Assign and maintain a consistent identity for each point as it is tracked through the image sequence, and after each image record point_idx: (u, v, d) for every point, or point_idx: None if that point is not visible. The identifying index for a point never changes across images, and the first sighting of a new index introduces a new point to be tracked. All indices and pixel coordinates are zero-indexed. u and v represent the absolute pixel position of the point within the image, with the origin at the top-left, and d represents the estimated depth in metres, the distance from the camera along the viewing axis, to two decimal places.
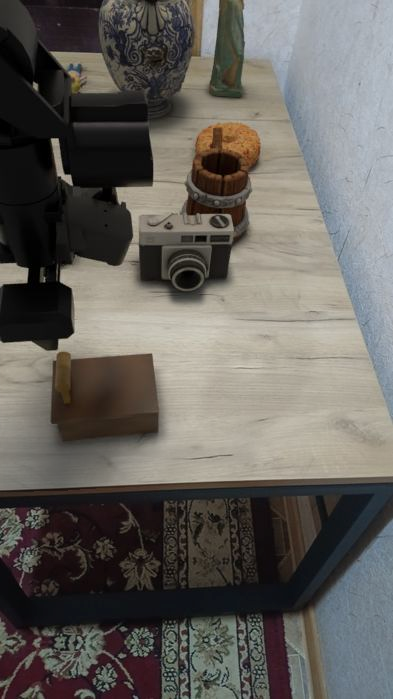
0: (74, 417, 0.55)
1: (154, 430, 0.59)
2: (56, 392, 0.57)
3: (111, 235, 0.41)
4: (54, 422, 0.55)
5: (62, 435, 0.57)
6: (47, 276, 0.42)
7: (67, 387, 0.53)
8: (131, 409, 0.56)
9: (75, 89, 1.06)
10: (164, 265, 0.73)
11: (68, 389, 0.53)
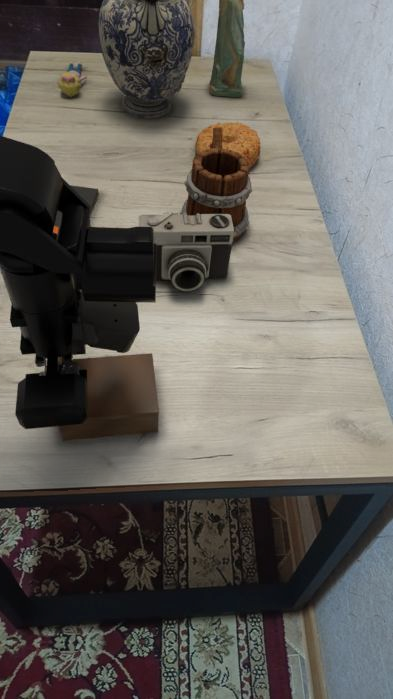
0: None
1: (154, 430, 0.59)
2: None
3: (120, 330, 0.47)
4: None
5: (62, 435, 0.57)
6: (63, 365, 0.48)
7: None
8: (131, 409, 0.56)
9: (75, 89, 1.06)
10: (164, 265, 0.73)
11: None
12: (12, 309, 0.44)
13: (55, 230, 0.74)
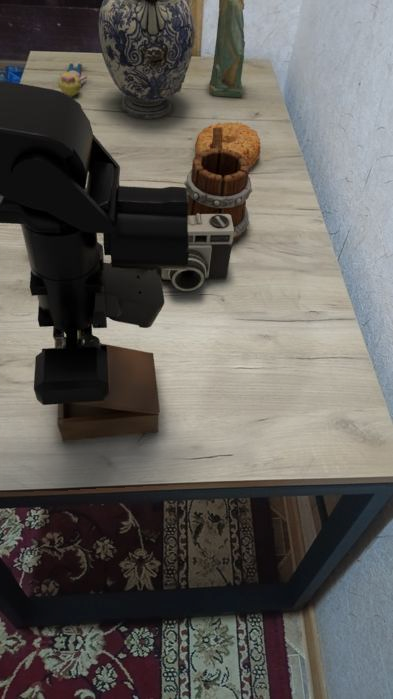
0: None
1: (154, 430, 0.59)
2: None
3: (145, 302, 0.44)
4: None
5: (62, 435, 0.57)
6: (83, 339, 0.45)
7: None
8: (134, 403, 0.55)
9: (75, 89, 1.06)
10: None
11: None
12: (32, 276, 0.41)
13: None
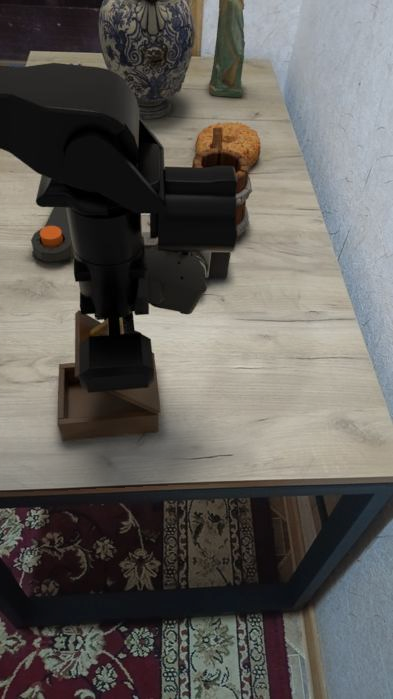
0: None
1: (154, 430, 0.59)
2: None
3: (187, 287, 0.43)
4: None
5: (62, 435, 0.57)
6: (125, 326, 0.44)
7: None
8: (142, 398, 0.54)
9: None
10: None
11: None
12: (75, 262, 0.41)
13: (55, 230, 0.74)
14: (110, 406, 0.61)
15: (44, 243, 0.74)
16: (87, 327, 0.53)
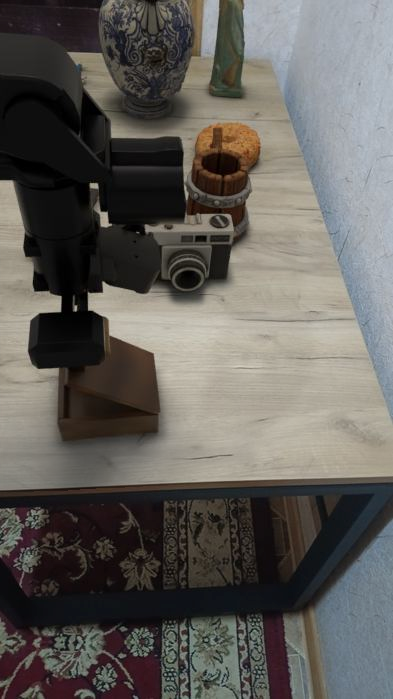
0: (90, 387, 0.50)
1: (154, 430, 0.59)
2: None
3: (141, 266, 0.43)
4: (69, 384, 0.49)
5: (62, 435, 0.57)
6: (79, 304, 0.44)
7: (107, 355, 0.49)
8: (139, 400, 0.55)
9: None
10: (164, 265, 0.73)
11: None
12: (25, 237, 0.40)
13: None
14: (110, 406, 0.61)
15: None
16: None
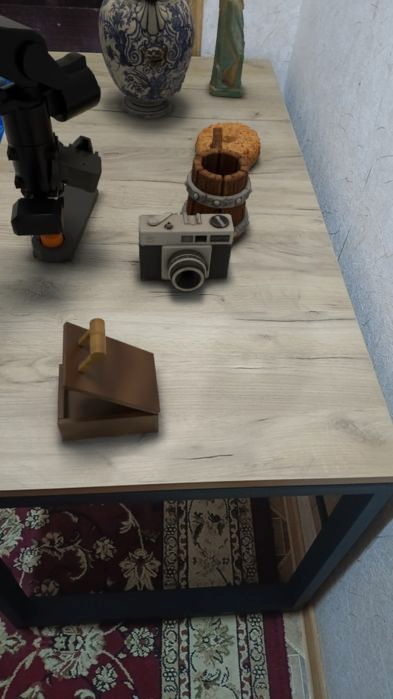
0: (87, 389, 0.51)
1: (154, 430, 0.59)
2: (70, 356, 0.52)
3: (87, 170, 0.64)
4: (67, 387, 0.49)
5: (62, 435, 0.57)
6: (46, 197, 0.65)
7: (103, 357, 0.50)
8: (138, 400, 0.55)
9: None
10: (164, 265, 0.73)
11: (101, 359, 0.50)
12: (8, 147, 0.61)
13: None
14: (110, 406, 0.61)
15: (44, 243, 0.74)
16: (75, 337, 0.54)
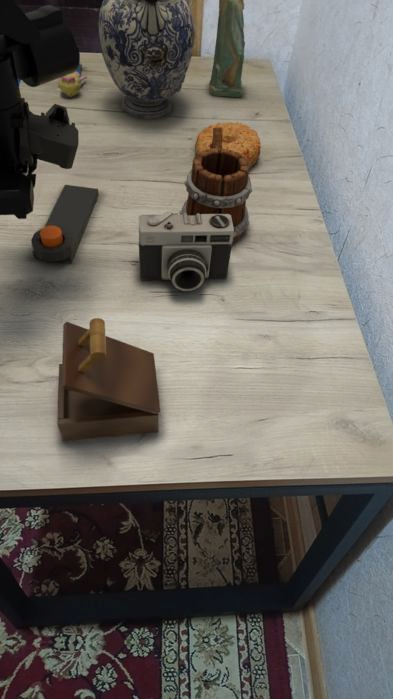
0: (87, 389, 0.51)
1: (154, 430, 0.59)
2: (70, 356, 0.52)
3: (61, 141, 0.56)
4: (67, 387, 0.49)
5: (62, 435, 0.57)
6: (14, 173, 0.57)
7: (103, 357, 0.50)
8: (138, 400, 0.55)
9: (75, 89, 1.06)
10: (164, 265, 0.73)
11: (101, 359, 0.50)
12: None
13: (55, 230, 0.74)
14: (110, 406, 0.61)
15: (44, 243, 0.74)
16: (75, 337, 0.54)
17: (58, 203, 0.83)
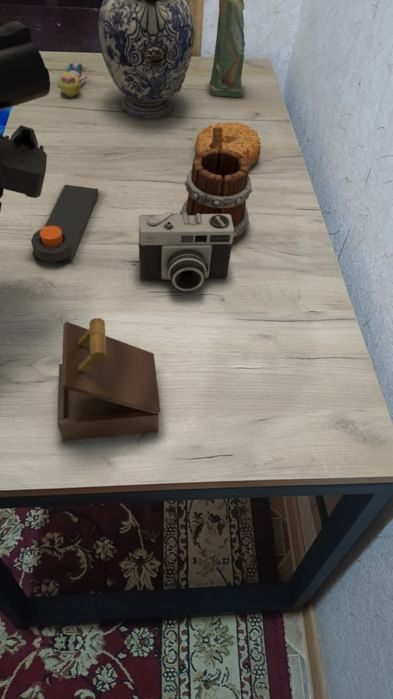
0: (87, 389, 0.51)
1: (154, 430, 0.59)
2: (70, 356, 0.52)
3: (26, 169, 0.51)
4: (67, 387, 0.49)
5: (62, 435, 0.57)
6: None
7: (103, 357, 0.50)
8: (138, 400, 0.55)
9: (75, 89, 1.06)
10: (164, 265, 0.73)
11: (101, 359, 0.50)
12: None
13: (55, 230, 0.74)
14: (110, 406, 0.61)
15: (44, 243, 0.74)
16: (75, 337, 0.54)
17: (58, 203, 0.83)
